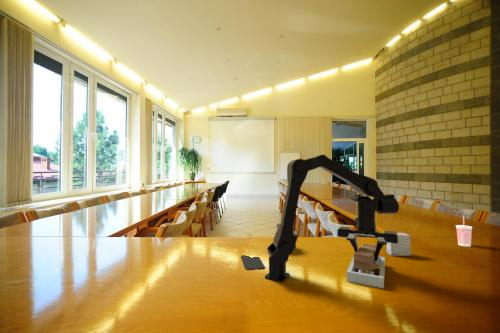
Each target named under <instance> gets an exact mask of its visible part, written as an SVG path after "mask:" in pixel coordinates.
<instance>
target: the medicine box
mask: <svg viewBox="0 0 500 333" xmlns="http://www.w3.org/2000/svg"><path fill="white" fill-rule="evenodd" d="M396 233H397V234H398V243H388V242H387V245H386V253H387V254H388V255H389V256H393V257H394V256H395V257H397V256H398V257H399V256H401V257H411V255H412V253H411V252H412V251H411V247H412V246H411V235H409V234H407V233H405V232H396Z"/></svg>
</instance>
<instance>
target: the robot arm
mask: <svg viewBox="0 0 500 333" xmlns="http://www.w3.org/2000/svg"><path fill="white" fill-rule="evenodd" d="M318 168H321V169H322V170H324V171H326V172H328V173H329V174H331V175H332V176H335V177H337V178H338V179H340V180H342V181H343V182H345V183H347V184H348V186H349V187H350V188H351V189H352V190H354V191H355V192H356V194H355V195H353V197H351V198H350V200H351V201H353V202H357V205H356V206H357V207H356V208H357V209H356V210H357V217H355V219H354V226H355V227H356V228H357V230H356V229H352V228H351V227H350V226H342V225H341V226H339V227H338V228H337V232H336V233H337V234H336V235H337V237H338V238H346V241H349V242H350V244H351V246H352V247H353V250H354V253H355V252H356V251H357V250H358V249H359V244H358V243H359V242H358V237H365V238H373V239H377V241H376V246H377V247H376V254H375V261H377V258H378V255H379V254H380V253H381V250H382V249H383V246H387V242H388V243H398V234H397V233H398V232H396V231H393V230H386V229H385V230H384V232H377V223H376V221H377V220H376V213H377V214H379V215H383V214H385V215H389V214H392V215H393V214H394V215H395V214H397V213H398V211H399V209H400V204H399V202H398V200H397V199H396V197H395V194H393V193H388V194H387V193H386V194H385V193H384V192H383V191H382V190H381V188H380V187H379V185H378V181H377V180H376V179H374V178H373V177H370V176H367V175H363V174H361V173H360V174H359V173H356V172H354V171H353V170H350V169H349V168H347V167H345V166H344V165H342V164H340V163H338V162H336V161H335V160H333V159H331V158H330V157H328V156H327V155H325V154H319V155H316V156H314V157H310V158H306V159H303V158H298V159H297V158H296V159H292V160H290V161H289V162H288V163H287V168H286V171H287V172H286V176H287V177H286V178H287V189H286V193H285V199H284V204H283V210H282V215H281V220H280V223H279V224H280V226H279V228H278V230H277V229H276V232H275V234H274V237H273V240H272V242H271V244H269V246H268V247H266V250H267V254H268V255H269V256H268V273H267V274H265V276H264V278H265V279H269V280H273V281H277V282H283V283H284V282H285V280H287V278H288V277H290V275H291V274H290V272H287V262H288V261H289V257H290V255H291V254H293V252H294V250H295V249H297V240H298V237H299V236H298V235H297V233H295V232H294V226H295V224H294V223H295V220H296V214H297V210H298V204H299V199H300V194H301V188H302V185H303V184H304V181H305V180H306V178H307V176H308V173H309V171H313V170H316V169H318ZM360 194H361V195H360ZM371 197H372V198H371ZM379 256H380V255H379Z"/></svg>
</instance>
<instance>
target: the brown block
mask: <svg viewBox="0 0 500 333" xmlns="http://www.w3.org/2000/svg"><path fill="white" fill-rule="evenodd" d="M376 247H377V244H376V245H375V244H369V243H363V244H362V245H361V246H360V247H358V250H357V251H356V252H355V251H354V253H353V256H354V268H356V269H357V270H365V271H373V270H372V268H373V267H374V265H375V263H376V262H377V261H375V254H376ZM379 257H380V255H378V258H377V260H378V259H379ZM375 266H376V265H375Z"/></svg>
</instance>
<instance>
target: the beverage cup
mask: <svg viewBox="0 0 500 333" xmlns="http://www.w3.org/2000/svg"><path fill="white" fill-rule="evenodd" d="M455 228H456V236H457V237H456V238H457V244H458V246H461V247H466V248H467V247H471V246H472V229H473V226H471V225H465V215H463V216H462V224H456V225H455Z"/></svg>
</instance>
